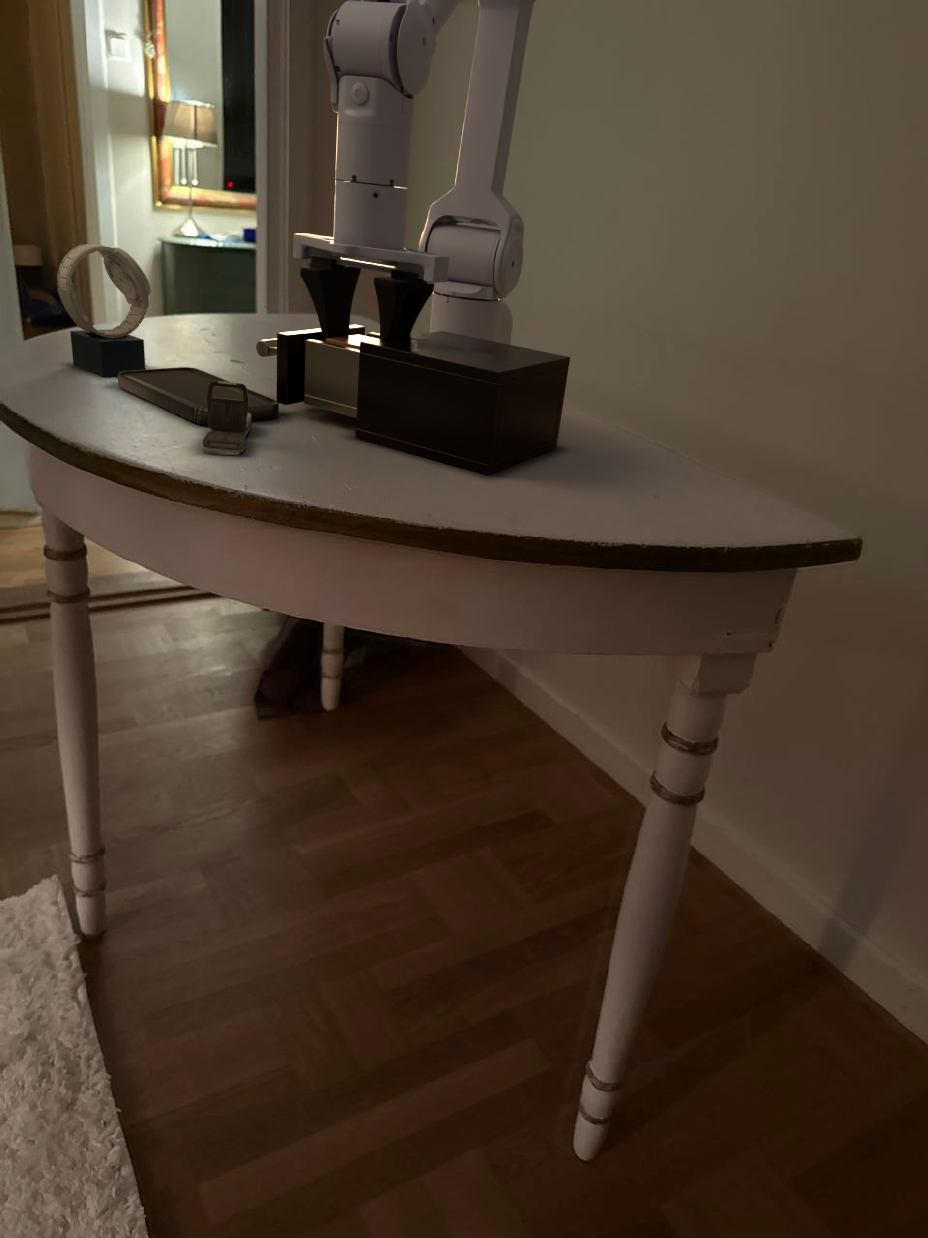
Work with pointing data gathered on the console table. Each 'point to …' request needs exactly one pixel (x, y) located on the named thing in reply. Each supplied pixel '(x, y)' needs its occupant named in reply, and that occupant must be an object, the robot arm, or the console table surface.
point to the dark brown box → (460, 399)
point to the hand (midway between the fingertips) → (363, 359)
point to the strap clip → (227, 420)
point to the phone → (190, 392)
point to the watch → (114, 346)
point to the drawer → (316, 369)
